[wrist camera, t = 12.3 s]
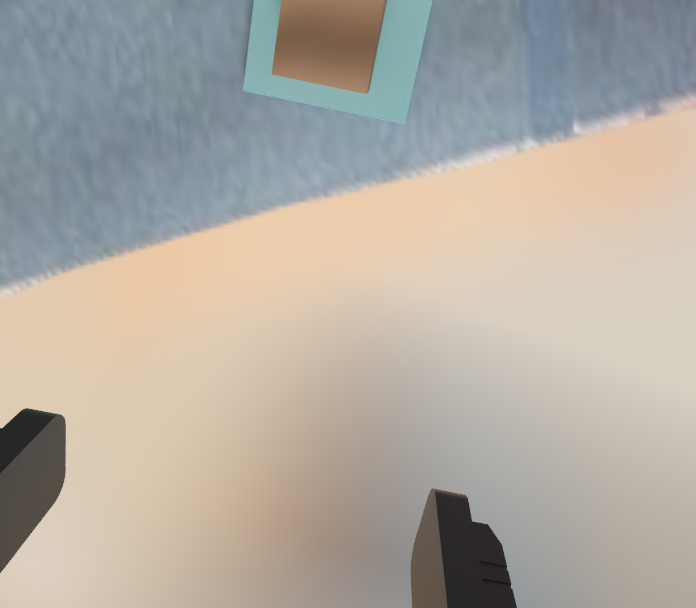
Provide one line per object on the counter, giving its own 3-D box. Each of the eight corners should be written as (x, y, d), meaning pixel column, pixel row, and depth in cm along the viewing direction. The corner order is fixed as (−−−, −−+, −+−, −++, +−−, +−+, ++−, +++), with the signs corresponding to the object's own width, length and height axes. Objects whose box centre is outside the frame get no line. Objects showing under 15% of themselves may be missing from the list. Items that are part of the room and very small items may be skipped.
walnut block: (300, -21, 33) (286, -35, 28) (387, -2, 33) (387, -14, 28) (287, 73, 35) (271, 74, 30) (369, 90, 35) (366, 94, 30)
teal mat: (246, 90, 36) (243, 90, 35) (264, -57, 33) (260, -61, 32) (404, 123, 36) (405, 124, 36) (436, -21, 33) (437, -23, 33)
